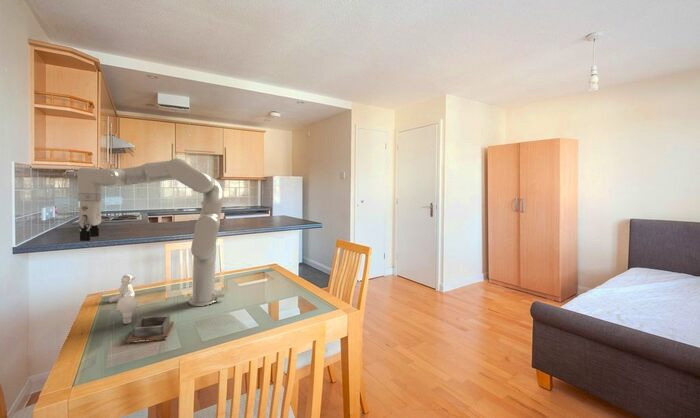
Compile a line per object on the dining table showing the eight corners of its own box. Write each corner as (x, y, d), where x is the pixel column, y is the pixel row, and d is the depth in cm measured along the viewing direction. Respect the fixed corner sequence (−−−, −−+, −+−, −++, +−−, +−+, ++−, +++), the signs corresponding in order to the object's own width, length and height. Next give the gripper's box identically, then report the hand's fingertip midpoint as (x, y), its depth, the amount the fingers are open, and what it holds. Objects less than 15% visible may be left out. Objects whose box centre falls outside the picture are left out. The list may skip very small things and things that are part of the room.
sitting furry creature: (107, 302, 140) (107, 276, 139) (122, 296, 149) (122, 271, 148) (127, 304, 140) (127, 278, 139) (141, 297, 148) (141, 272, 147)
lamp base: (173, 325, 122) (173, 314, 122) (166, 339, 111) (166, 327, 111) (138, 327, 118) (138, 316, 118) (126, 343, 107) (126, 330, 107)
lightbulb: (126, 328, 118) (126, 299, 117) (112, 325, 119) (112, 297, 118) (141, 321, 124) (141, 294, 123) (127, 319, 125) (127, 292, 125)
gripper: (93, 199, 122) (93, 242, 124) (107, 197, 138) (107, 235, 139) (68, 198, 119) (69, 242, 121) (86, 196, 135) (86, 235, 137)
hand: (89, 238), depth 130 cm, fingers open, 9 cm apart
